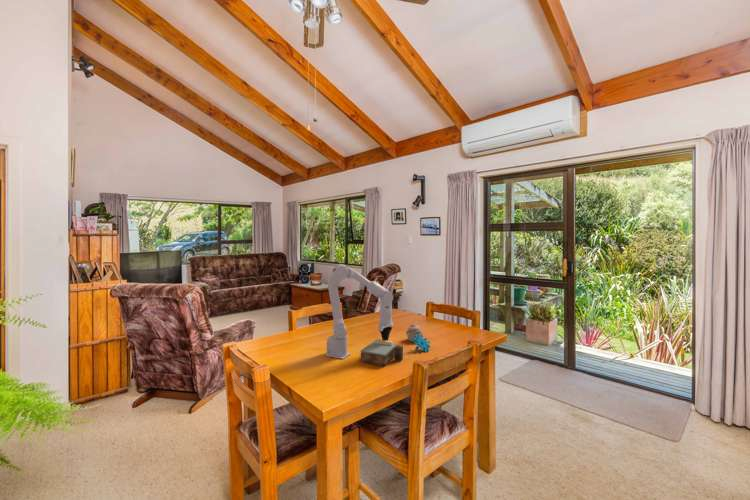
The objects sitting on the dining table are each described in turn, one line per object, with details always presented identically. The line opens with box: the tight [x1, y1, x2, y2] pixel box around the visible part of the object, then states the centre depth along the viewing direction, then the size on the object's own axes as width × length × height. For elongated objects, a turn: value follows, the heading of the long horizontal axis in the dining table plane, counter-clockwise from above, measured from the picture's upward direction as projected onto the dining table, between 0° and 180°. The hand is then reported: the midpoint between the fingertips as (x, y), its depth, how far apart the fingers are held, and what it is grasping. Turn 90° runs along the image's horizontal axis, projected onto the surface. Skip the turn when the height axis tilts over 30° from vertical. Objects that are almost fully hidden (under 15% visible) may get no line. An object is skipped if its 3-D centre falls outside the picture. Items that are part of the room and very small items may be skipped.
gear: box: [413, 334, 432, 353], centre depth 181 cm, size 11×6×10 cm
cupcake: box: [405, 322, 423, 343], centre depth 195 cm, size 9×9×10 cm
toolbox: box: [360, 348, 395, 368], centre depth 167 cm, size 12×15×4 cm
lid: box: [360, 338, 397, 356], centre depth 166 cm, size 12×15×2 cm
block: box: [394, 344, 404, 362], centre depth 166 cm, size 3×3×6 cm
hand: (385, 341), depth 174 cm, fingers closed
